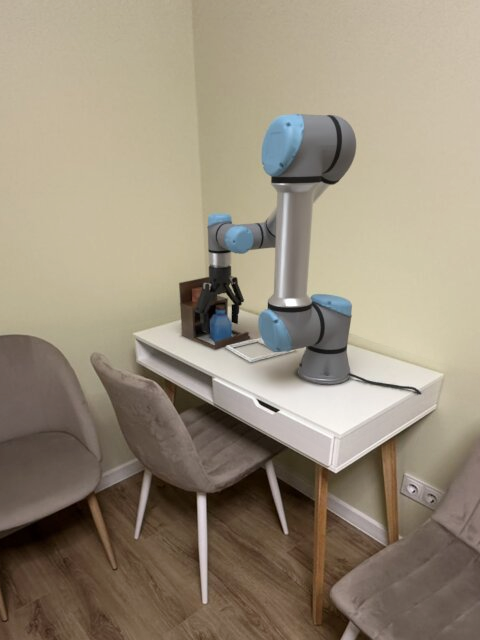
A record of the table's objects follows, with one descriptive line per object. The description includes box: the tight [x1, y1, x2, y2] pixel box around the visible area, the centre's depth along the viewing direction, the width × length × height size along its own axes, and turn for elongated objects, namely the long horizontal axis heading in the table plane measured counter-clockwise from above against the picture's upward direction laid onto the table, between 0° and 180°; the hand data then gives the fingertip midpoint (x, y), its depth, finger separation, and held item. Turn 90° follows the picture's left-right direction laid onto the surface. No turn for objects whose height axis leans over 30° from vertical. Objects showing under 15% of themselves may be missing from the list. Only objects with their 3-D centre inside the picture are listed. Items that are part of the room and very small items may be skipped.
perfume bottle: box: [209, 305, 233, 342], centre depth 166 cm, size 6×6×12 cm
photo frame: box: [225, 337, 296, 363], centre depth 159 cm, size 15×1×18 cm
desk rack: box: [178, 276, 251, 350], centre depth 166 cm, size 19×16×19 cm
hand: (220, 327), depth 167 cm, fingers open, 13 cm apart
